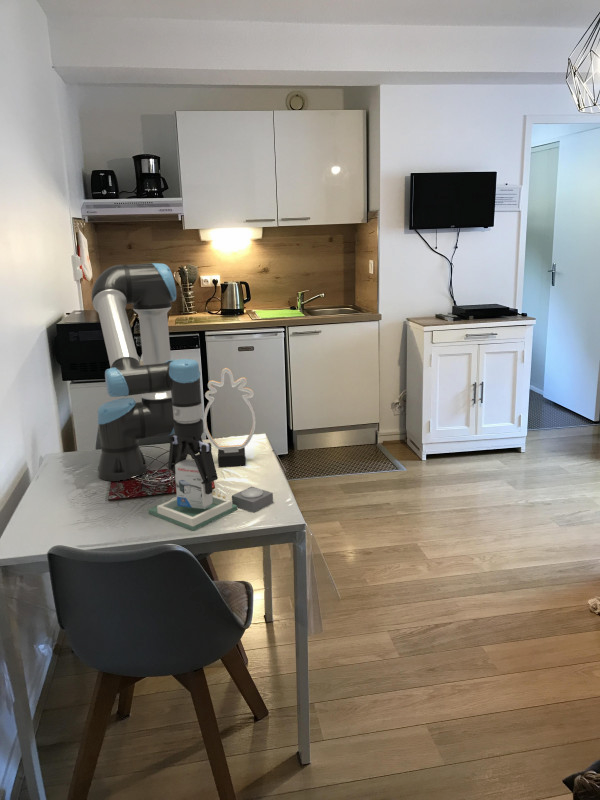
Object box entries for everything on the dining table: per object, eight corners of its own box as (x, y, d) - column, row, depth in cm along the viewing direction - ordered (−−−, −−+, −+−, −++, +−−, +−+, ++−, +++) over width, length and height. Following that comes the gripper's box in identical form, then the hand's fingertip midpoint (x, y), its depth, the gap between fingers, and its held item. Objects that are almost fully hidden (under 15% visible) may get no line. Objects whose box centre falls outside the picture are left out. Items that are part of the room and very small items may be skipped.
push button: (232, 505, 179) (231, 493, 178) (252, 496, 185) (251, 484, 184) (253, 512, 174) (252, 500, 173) (273, 502, 180) (272, 490, 179)
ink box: (176, 506, 172) (173, 465, 169) (185, 499, 177) (182, 458, 174) (206, 509, 170) (203, 467, 167) (214, 502, 174) (211, 461, 171)
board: (148, 513, 175) (147, 502, 174) (193, 494, 187) (192, 484, 186) (193, 530, 164) (192, 519, 163) (237, 509, 176) (236, 498, 175)
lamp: (257, 456, 218) (252, 363, 210) (258, 465, 209) (253, 369, 201) (206, 459, 216) (200, 366, 208) (205, 468, 208) (199, 372, 200)
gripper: (149, 416, 171) (156, 495, 177) (206, 430, 157) (212, 515, 163) (171, 410, 177) (177, 486, 182) (228, 422, 163) (233, 505, 169)
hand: (194, 500), depth 173 cm, fingers closed on ink box, 9 cm apart
